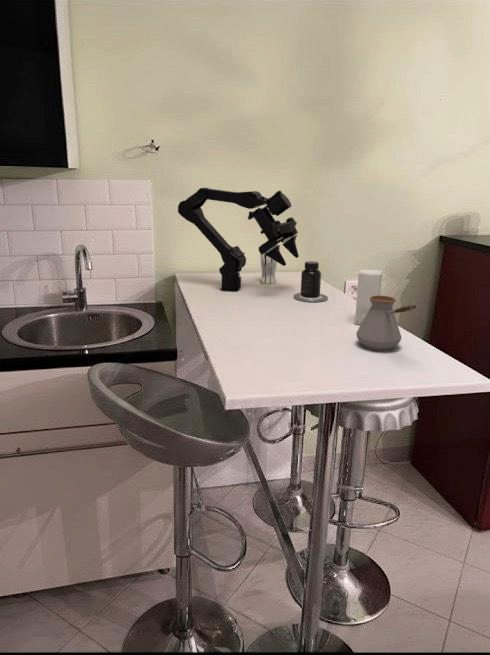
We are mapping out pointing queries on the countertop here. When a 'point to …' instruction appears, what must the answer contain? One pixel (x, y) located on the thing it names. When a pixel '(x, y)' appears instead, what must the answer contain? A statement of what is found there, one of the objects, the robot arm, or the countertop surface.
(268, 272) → the beer glass
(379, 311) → the coffee pot
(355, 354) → the countertop surface
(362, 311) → the skincare box
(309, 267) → the supplement bottle
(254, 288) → the countertop surface
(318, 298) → the coaster
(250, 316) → the countertop surface
